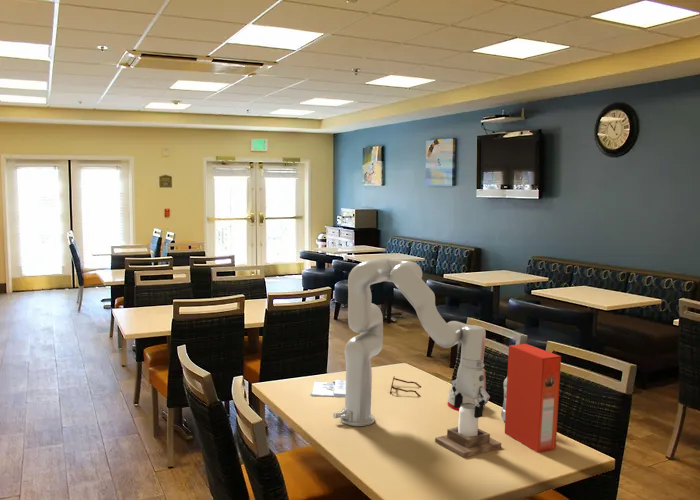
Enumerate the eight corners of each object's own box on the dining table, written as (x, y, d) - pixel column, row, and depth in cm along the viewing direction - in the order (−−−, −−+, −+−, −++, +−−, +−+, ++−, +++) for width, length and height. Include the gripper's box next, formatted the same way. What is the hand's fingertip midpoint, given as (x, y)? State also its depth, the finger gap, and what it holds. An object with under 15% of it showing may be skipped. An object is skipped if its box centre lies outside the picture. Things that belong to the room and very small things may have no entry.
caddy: (463, 457, 197) (464, 444, 197) (435, 442, 209) (435, 429, 208) (501, 447, 206) (501, 434, 206) (471, 432, 218) (472, 420, 217)
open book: (358, 399, 251) (358, 394, 251) (309, 397, 251) (309, 392, 251) (358, 384, 270) (358, 379, 270) (312, 383, 270) (313, 378, 270)
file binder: (536, 452, 203) (542, 358, 200) (503, 433, 218) (508, 345, 215) (555, 449, 206) (561, 356, 203) (522, 430, 222) (527, 343, 219)
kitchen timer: (471, 398, 254) (473, 363, 253) (489, 410, 241) (491, 373, 240) (441, 401, 250) (443, 365, 249) (457, 413, 237) (459, 375, 236)
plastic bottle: (498, 418, 233) (501, 367, 231) (515, 418, 233) (518, 367, 231) (504, 425, 226) (507, 372, 224) (521, 425, 227) (525, 372, 225)
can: (477, 445, 204) (478, 409, 202) (457, 442, 205) (459, 407, 204) (477, 437, 210) (479, 403, 209) (458, 435, 211) (459, 401, 210)
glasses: (391, 385, 270) (392, 374, 269) (421, 387, 268) (421, 376, 268) (389, 395, 257) (389, 383, 256) (420, 397, 255) (421, 385, 255)
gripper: (499, 368, 200) (494, 419, 201) (462, 354, 214) (458, 402, 216) (482, 371, 196) (478, 423, 197) (445, 357, 210) (442, 405, 212)
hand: (468, 412), depth 207 cm, fingers open, 9 cm apart
